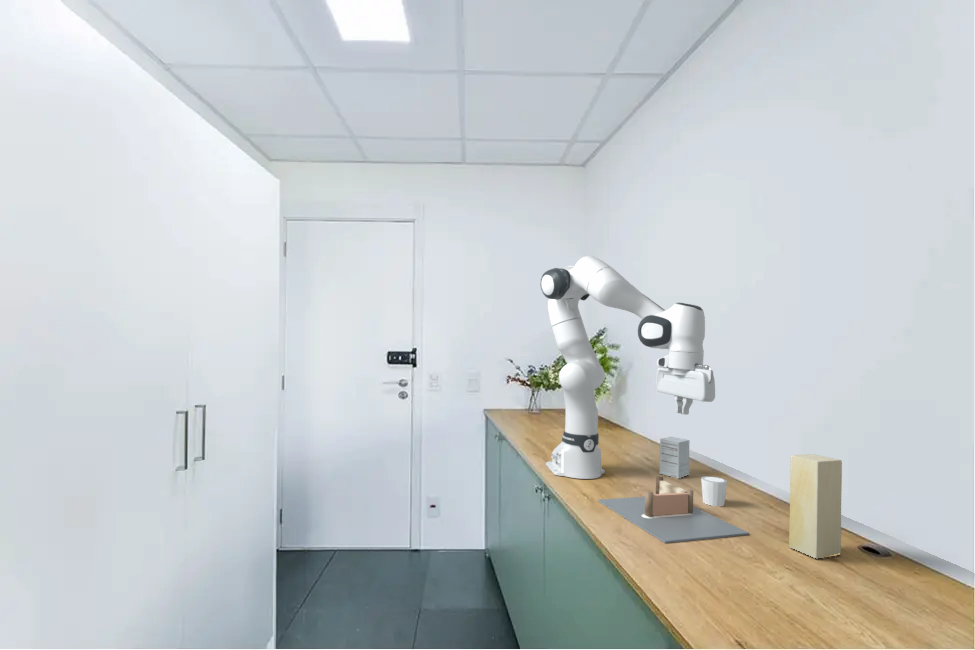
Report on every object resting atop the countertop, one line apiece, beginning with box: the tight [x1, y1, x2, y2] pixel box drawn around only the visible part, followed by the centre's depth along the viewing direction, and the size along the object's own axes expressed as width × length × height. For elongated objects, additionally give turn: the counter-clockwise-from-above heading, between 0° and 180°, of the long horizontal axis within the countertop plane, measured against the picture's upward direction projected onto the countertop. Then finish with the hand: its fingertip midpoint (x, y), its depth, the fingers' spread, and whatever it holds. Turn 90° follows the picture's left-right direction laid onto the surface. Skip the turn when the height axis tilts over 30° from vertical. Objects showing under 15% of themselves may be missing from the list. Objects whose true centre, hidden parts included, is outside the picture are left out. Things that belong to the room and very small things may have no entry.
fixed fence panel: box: [655, 475, 687, 494], centre depth 141 cm, size 13×2×6 cm, turn 17°
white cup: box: [700, 476, 728, 507], centre depth 145 cm, size 7×7×7 cm
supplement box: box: [659, 436, 690, 479], centre depth 175 cm, size 7×7×13 cm
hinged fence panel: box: [644, 489, 694, 516], centre depth 132 cm, size 14×2×6 cm, turn 105°
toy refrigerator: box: [788, 453, 843, 560], centre depth 113 cm, size 8×7×21 cm
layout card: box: [597, 496, 750, 544], centre depth 132 cm, size 30×24×1 cm
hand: (682, 413), depth 136 cm, fingers closed
